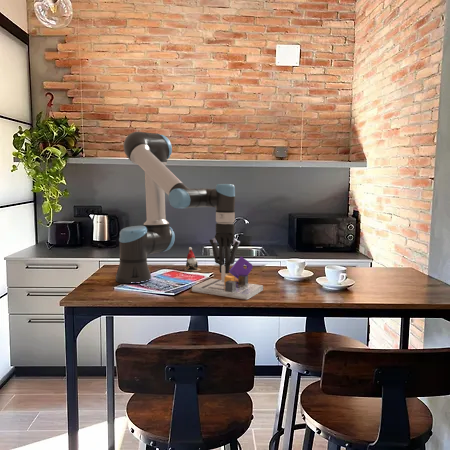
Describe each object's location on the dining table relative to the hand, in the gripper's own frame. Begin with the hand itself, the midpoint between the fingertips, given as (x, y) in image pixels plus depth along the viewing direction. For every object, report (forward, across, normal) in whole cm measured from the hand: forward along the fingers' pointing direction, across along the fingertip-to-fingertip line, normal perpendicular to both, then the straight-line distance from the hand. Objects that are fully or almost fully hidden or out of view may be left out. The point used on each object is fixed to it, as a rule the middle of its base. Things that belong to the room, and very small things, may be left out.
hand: (224, 281), depth 172 cm
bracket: (0, 0, +12) cm, 12 cm away
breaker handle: (+1, +2, 0) cm, 3 cm away
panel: (+4, +2, 0) cm, 4 cm away
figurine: (+4, -31, +27) cm, 42 cm away
